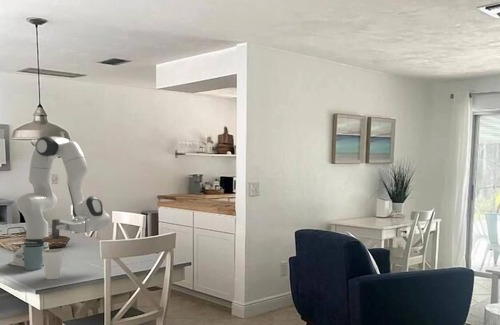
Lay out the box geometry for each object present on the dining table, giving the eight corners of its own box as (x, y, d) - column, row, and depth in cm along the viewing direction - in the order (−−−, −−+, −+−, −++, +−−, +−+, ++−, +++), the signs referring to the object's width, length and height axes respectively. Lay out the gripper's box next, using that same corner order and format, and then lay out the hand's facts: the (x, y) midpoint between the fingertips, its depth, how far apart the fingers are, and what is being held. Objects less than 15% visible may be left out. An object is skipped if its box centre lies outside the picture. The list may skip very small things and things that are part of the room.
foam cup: (46, 275, 239) (46, 249, 239) (65, 275, 240) (65, 248, 240) (39, 280, 230) (39, 252, 230) (59, 280, 230) (59, 252, 230)
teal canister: (19, 270, 250) (19, 247, 249) (30, 266, 260) (30, 243, 260) (37, 271, 248) (37, 247, 248) (48, 266, 258) (48, 244, 258)
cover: (36, 241, 231) (37, 220, 231) (51, 237, 242) (51, 217, 242) (59, 242, 228) (60, 221, 228) (73, 238, 240) (73, 218, 240)
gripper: (69, 216, 252) (43, 218, 241) (91, 220, 238) (64, 222, 228) (69, 228, 252) (43, 230, 242) (90, 232, 238) (64, 235, 228)
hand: (53, 226), depth 235 cm, fingers closed on cover, 3 cm apart
